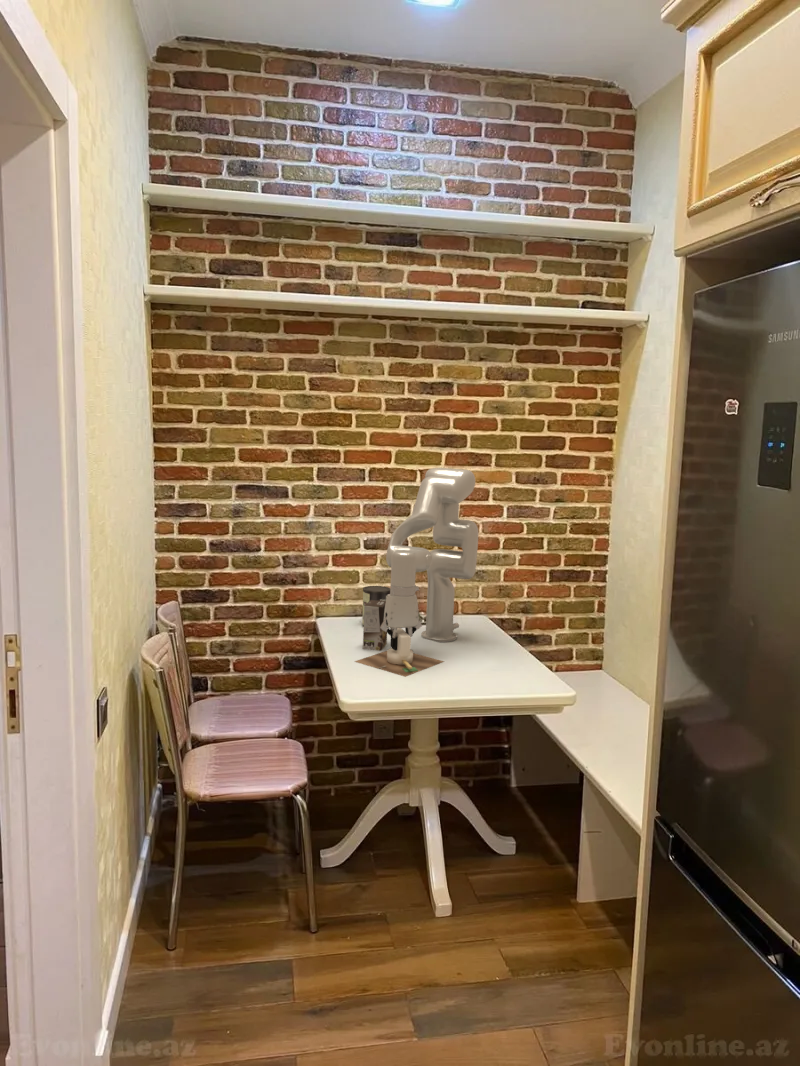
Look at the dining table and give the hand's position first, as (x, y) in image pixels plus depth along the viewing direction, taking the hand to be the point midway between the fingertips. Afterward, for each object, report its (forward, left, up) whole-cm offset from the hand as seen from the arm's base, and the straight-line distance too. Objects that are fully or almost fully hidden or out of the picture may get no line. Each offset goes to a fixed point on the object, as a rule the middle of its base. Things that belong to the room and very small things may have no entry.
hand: (400, 648), depth 233 cm
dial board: (0, 0, -6) cm, 6 cm away
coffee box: (-7, -16, -6) cm, 18 cm away
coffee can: (-31, -36, -6) cm, 48 cm away
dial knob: (+2, +2, -4) cm, 5 cm away
